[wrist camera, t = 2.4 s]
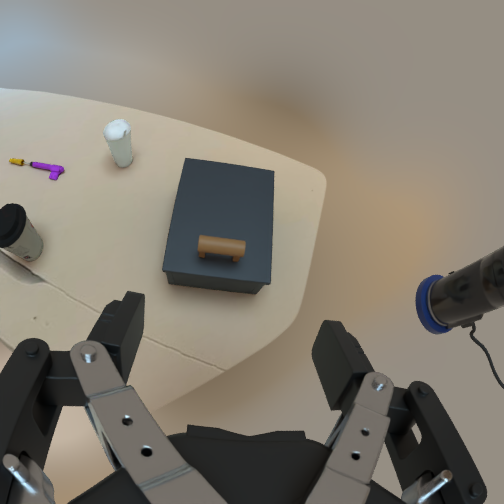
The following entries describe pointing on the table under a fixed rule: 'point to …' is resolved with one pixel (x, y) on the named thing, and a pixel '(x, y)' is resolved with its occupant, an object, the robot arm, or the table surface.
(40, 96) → the table surface
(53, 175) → the purple yellow rod
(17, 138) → the table surface
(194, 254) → the lid
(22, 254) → the coffee cup
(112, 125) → the milkshake
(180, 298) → the table surface
